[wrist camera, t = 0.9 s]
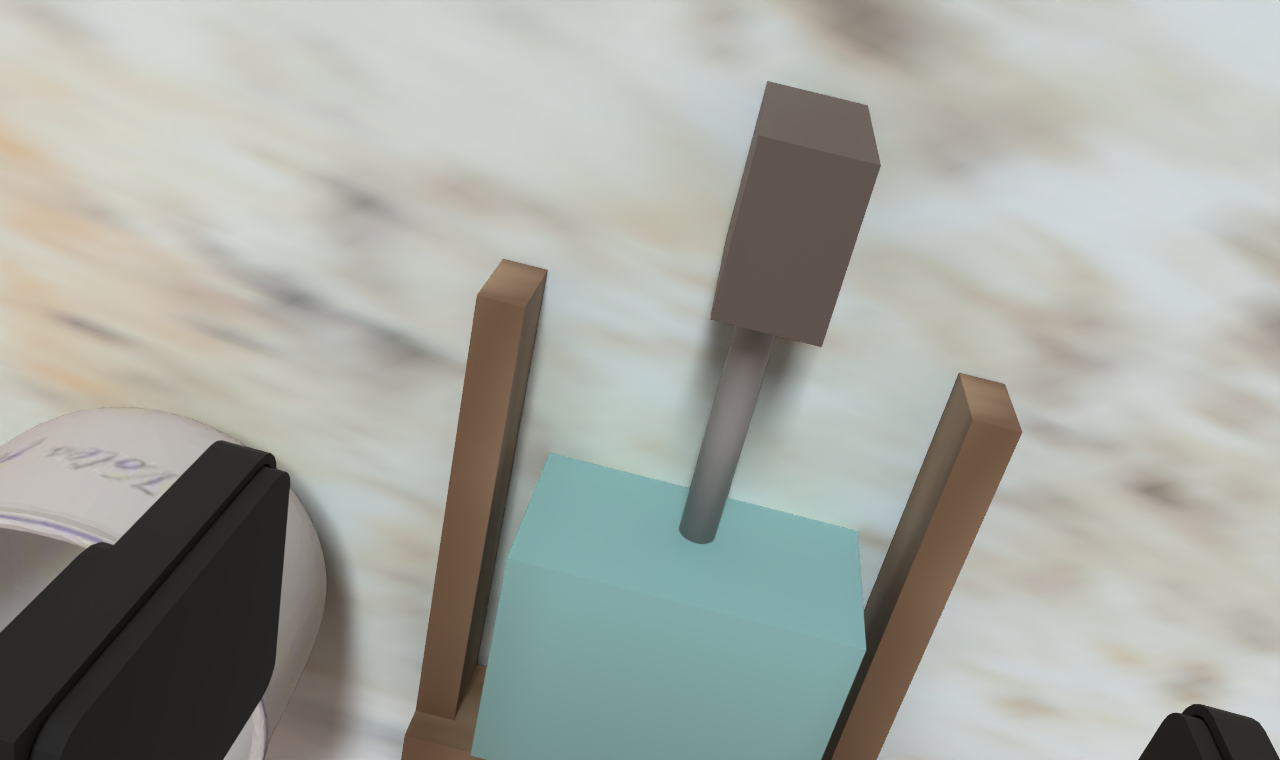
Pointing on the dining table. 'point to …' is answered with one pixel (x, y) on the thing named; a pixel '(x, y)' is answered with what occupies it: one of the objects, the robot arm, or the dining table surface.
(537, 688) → the teal block
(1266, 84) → the dining table surface
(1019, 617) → the dining table surface
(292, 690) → the teacup
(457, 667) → the frame
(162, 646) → the robot arm
